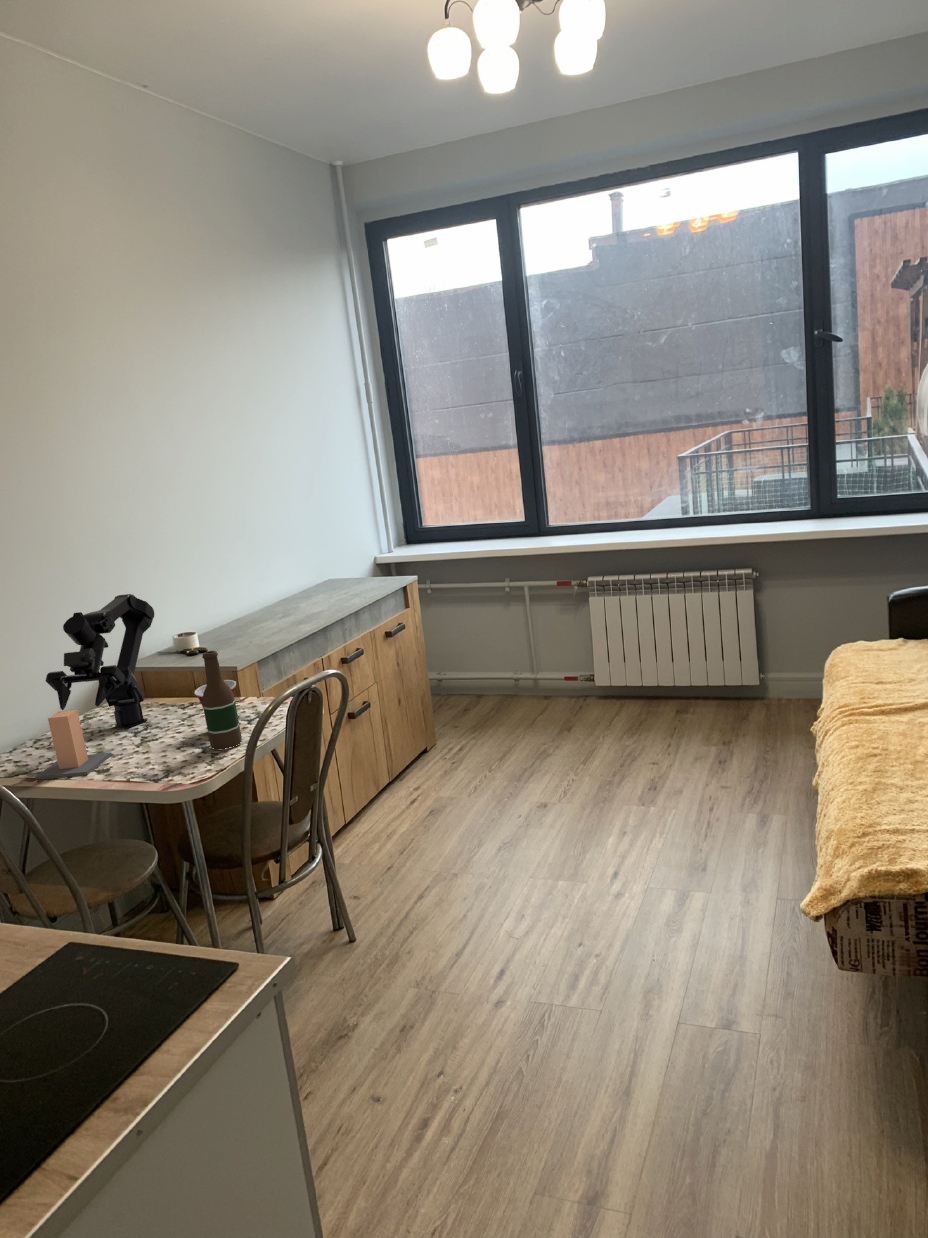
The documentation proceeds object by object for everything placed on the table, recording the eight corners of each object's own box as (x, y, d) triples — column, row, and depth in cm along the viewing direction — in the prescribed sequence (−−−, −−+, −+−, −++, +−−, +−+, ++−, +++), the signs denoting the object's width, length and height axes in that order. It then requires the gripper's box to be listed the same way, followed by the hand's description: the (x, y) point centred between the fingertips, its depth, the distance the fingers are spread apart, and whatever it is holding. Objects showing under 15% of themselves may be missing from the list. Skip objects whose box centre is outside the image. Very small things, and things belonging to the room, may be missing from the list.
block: (69, 761, 232) (58, 711, 229) (88, 759, 231) (77, 709, 229) (59, 768, 227) (47, 718, 224) (78, 766, 226) (67, 716, 224)
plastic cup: (193, 736, 242) (185, 692, 239) (218, 722, 252) (210, 680, 249) (228, 737, 238) (219, 692, 235) (252, 722, 247) (244, 679, 245)
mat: (62, 760, 236) (62, 757, 236) (111, 755, 235) (110, 752, 235) (35, 779, 223) (35, 776, 223) (87, 774, 222) (86, 771, 222)
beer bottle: (248, 739, 233) (231, 647, 228) (231, 751, 226) (213, 655, 221) (222, 739, 236) (205, 648, 231) (204, 751, 229) (186, 656, 224)
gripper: (40, 642, 237) (27, 696, 229) (110, 634, 235) (99, 688, 227) (62, 664, 246) (50, 716, 238) (130, 656, 245) (120, 709, 236)
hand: (79, 707), depth 234 cm, fingers open, 9 cm apart
